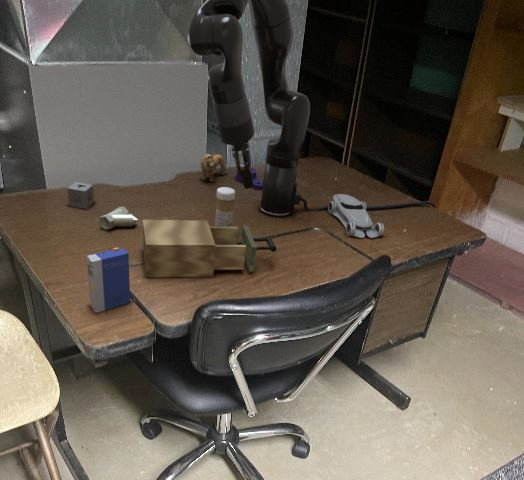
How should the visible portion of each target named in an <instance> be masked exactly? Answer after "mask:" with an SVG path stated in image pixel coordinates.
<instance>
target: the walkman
mask: <svg viewBox="0 0 524 480" xmlns="http://www.w3.org/2000/svg"><path fill="white" fill-rule="evenodd" d="M129 259H130V258H129V252H128V251H126V250H125V248H123V247H113V248H112V249H110V250H106V251H105V250H104V251H102V252H96V253H93V254H88V255H86V264H87V276H88V288H89V298H90V307H91V308H92V310H93V312H95V313H101V312H103V311H106V310H111V309H113V308H117V307H119V306H123V305H127V304H130V303H131V288H130V287H131V286H130V283H131V282H130V260H129Z"/></svg>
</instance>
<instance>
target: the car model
mask: <svg viewBox="0 0 524 480" xmlns="http://www.w3.org/2000/svg"><path fill="white" fill-rule="evenodd" d="M332 198H333V200H330V201H329V203H328V205H327V206H328V209H327V211H328V213H329V215H332V216H334V217H335V218H337V220H338V221H340V222H341V224H342V225H343V227H344V228H345V232H346V235H347V236H348V237H355V238H360V239H365V236H366V237H367V238H369V239H375V238H377V237H382V236H383V235H384V232H385V226H384V224H383V223H382V222H377V223H375V225H374V223H373V221H372V219H371V217H370V215H369V213H368V212H367V210H366V209H367V207H368V206H367V203H366V202H365V201H363V200H362V201H360V200H359V199H357V198H356V197H354V196H351V195H350V194H344V193H337V194H334V195H333V197H332Z"/></svg>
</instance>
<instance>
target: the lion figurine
mask: <svg viewBox="0 0 524 480" xmlns="http://www.w3.org/2000/svg"><path fill="white" fill-rule="evenodd" d="M218 165H219V166H220V168H219V170H220V171H222V172H221V175H226V165H225V159H224V156H223V155H222V154H214V155H212V154H210V153H205V154H204V155H202V157H201V159H200V169H201V170H202V177H201V180H202V181H206V179H207V173H208V174H209V182H214V174H215V173H216V171H217V168H218Z"/></svg>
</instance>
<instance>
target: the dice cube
mask: <svg viewBox="0 0 524 480" xmlns="http://www.w3.org/2000/svg"><path fill="white" fill-rule="evenodd" d="M67 198H68V206H69V207H73V208H79V209H83V210H87V209H89V208H90V207H91V206H92V205H93V204H94V203H95V194H94V184H89V183H84V182H79V181H75V182H73V183H72V184H71V185H69V186H68V187H67Z"/></svg>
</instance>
